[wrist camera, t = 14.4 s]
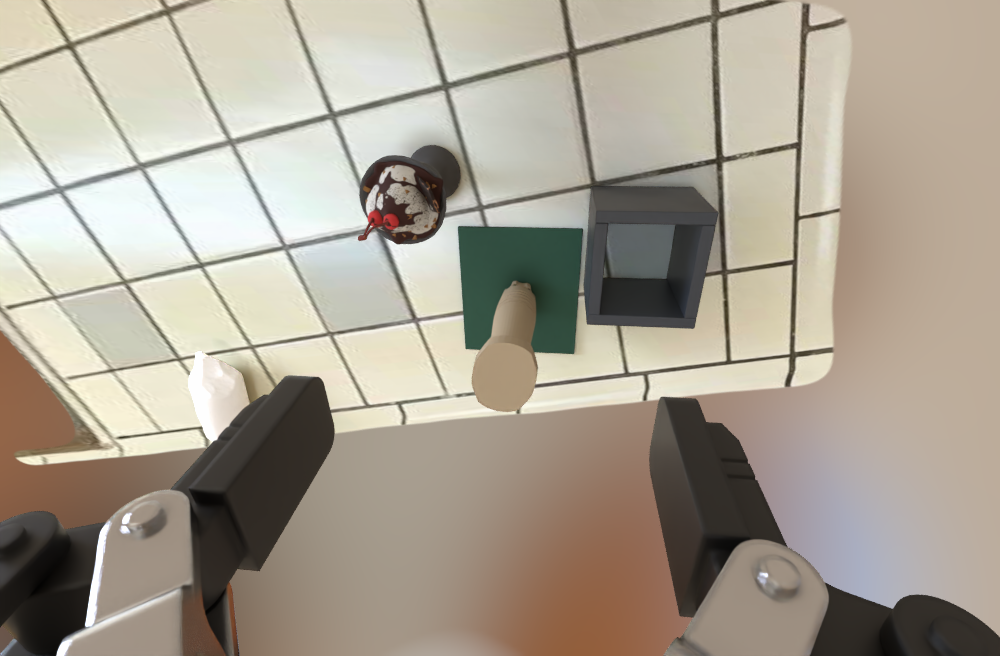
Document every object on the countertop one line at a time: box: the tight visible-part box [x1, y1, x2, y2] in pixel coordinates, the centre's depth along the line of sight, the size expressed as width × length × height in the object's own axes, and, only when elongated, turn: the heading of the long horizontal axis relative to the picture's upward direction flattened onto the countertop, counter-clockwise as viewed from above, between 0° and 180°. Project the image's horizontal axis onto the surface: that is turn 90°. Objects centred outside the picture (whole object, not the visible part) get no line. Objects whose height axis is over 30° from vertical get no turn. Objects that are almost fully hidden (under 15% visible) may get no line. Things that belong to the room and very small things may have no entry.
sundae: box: [358, 145, 460, 244], centre depth 38 cm, size 7×7×15 cm
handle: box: [472, 281, 538, 412], centre depth 43 cm, size 5×6×15 cm
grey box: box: [584, 186, 718, 329], centre depth 42 cm, size 10×9×8 cm
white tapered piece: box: [189, 351, 250, 441], centre depth 58 cm, size 6×12×6 cm, turn 176°
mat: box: [458, 226, 583, 354], centre depth 50 cm, size 14×12×1 cm
